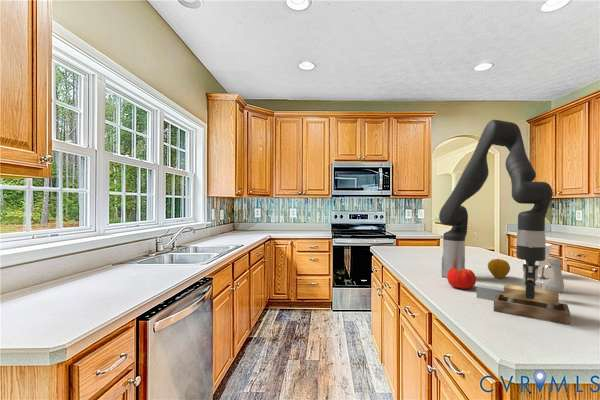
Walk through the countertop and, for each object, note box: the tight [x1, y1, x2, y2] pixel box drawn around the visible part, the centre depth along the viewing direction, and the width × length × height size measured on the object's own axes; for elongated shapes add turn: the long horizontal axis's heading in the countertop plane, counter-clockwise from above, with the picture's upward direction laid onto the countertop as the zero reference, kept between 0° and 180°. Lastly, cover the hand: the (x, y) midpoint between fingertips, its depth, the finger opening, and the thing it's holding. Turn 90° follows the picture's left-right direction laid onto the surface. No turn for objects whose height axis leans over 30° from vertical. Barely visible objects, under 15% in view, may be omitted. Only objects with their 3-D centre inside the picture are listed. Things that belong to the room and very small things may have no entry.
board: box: [503, 283, 560, 305], centre depth 103 cm, size 14×5×3 cm, turn 54°
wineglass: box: [536, 265, 554, 290], centre depth 118 cm, size 6×6×12 cm
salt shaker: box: [545, 257, 565, 294], centre depth 128 cm, size 6×6×13 cm
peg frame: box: [493, 293, 571, 326], centre depth 103 cm, size 19×10×4 cm, turn 54°
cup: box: [523, 242, 553, 266], centre depth 155 cm, size 12×12×15 cm
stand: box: [476, 283, 504, 301], centre depth 117 cm, size 12×4×4 cm, turn 54°
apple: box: [487, 258, 511, 279], centre depth 150 cm, size 9×9×9 cm
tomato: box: [446, 268, 477, 290], centre depth 133 cm, size 11×11×8 cm
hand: (530, 295), depth 103 cm, fingers open, 8 cm apart
